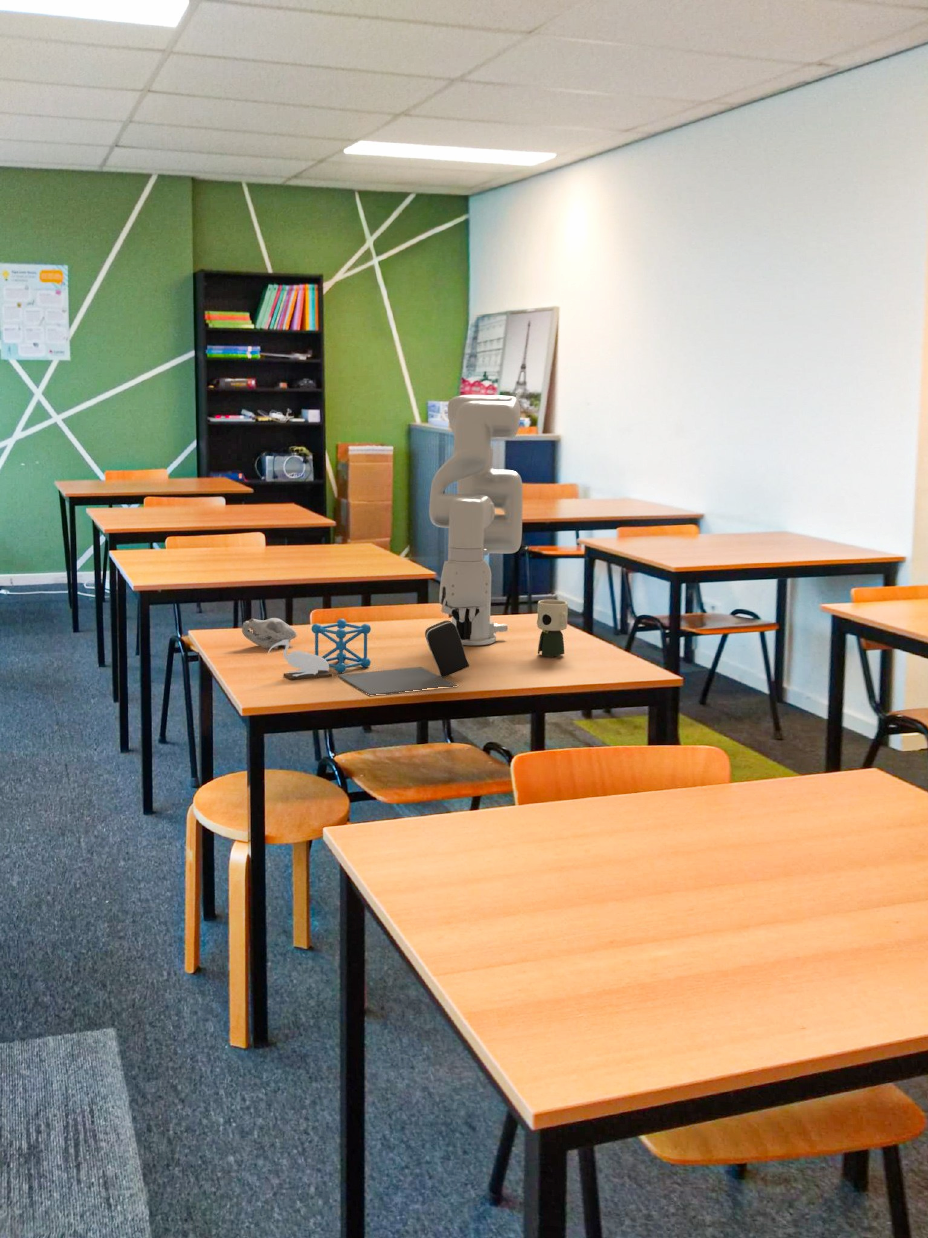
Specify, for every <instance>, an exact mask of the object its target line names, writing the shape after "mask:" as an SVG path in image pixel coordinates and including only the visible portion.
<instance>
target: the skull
mask: <svg viewBox="0 0 928 1238" xmlns="http://www.w3.org/2000/svg"><path fill="white" fill-rule="evenodd" d="M241 632H242V635H243V636H244V637H245V638H246V639H248V640H249V641H250V642H252V643H253V644H255V645H257V646H258V647H263V648H271V647H272V646H273V645H274V644H276V643H278V642H281V641H282V640H288V641H289V644H290V643H291V640H294V639H296V638H297V636H298V635H297V632H296V630H295V629H294V627H292V626H291V625H289V624H288V623H286V622H285V621H283V620H282V619H280V618H278V617H269V618H268V619H265V620H261V619H255V618H251V619H249V620H245V621H244V622H243V623H242V626H241ZM279 647H284V648H286V645H278V646H275V647H273V648H272V649H274V650H278V649H279Z"/></svg>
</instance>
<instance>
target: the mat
mask: <svg viewBox="0 0 928 1238" xmlns="http://www.w3.org/2000/svg"><path fill="white" fill-rule="evenodd" d="M337 678H339V679H341V680H342V681H344V682H346V683H347V682H348V683H347V684H349V685H350V686H352V685H353V687H354V688H356V689H357V688H358V689H357V690H359V691H361V692H362V691H363V692H362V693H364V694H366V693H367V694H369V695H376V694H386V695H392V694H391V693H396V694H400V693H399V692H405V691H413V690H422V689H427V688H438V687H453V686H457V687H458V684H456V683H454V682H451V681H450V680H448V679H446V678H445V677H441V676H440V675H438V674H436V673H435V672H433V671H430V670H429V669H427V668H424V667H422V666H416V667H414V666H413V667H407V668H406V667H404V668H395V669H385V670H384V669H383V670H373V671H364V672H362V671H361V672H354V673H351V672H350V673H340V674H337ZM453 688H454V687H453ZM405 693H406V692H405ZM367 694H366V695H367ZM369 695H368V696H369Z"/></svg>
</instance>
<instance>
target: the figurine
mask: <svg viewBox="0 0 928 1238" xmlns="http://www.w3.org/2000/svg"><path fill="white" fill-rule="evenodd" d="M278 645H280V646H281V645H286V647H284V650H283V655H282V656H283V657H284V659H285V660H286V662H287V664H289V665H290V666H291V667H292V668H295V669H298V670H288V671H287V672H284V673H283V677H284V678H286V679H287V680H289V681H293V682H294V681H304V680H313V679H315V680H316V679H324V678H325V679H326V678H333V677H334V673H332V672H330V671H329V670H330V667H329V664H330V663H329V661H328V662H327V661H326V660H325V659H326V658H325V659H324V658H322V656H320V655H318V656H317V655H315V653H314V654H313V653H310V652H307V651H302V650H293V651H291V652H290V653H288V654H287V652H288V650H289V648H290V643H289V641H288V640H282V641H281V642H278V643H276V644H274V645H273V646H272V647H269V649H268V652H267V655H269V654H270V652H271V650H272V649H274V648H273V647H275V646H278ZM278 647H279V646H278ZM328 663H329V664H328Z"/></svg>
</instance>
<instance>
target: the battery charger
mask: <svg viewBox="0 0 928 1238" xmlns="http://www.w3.org/2000/svg"><path fill="white" fill-rule="evenodd" d="M424 637H425V639H426V643H427V646H428V648H429V650H430V653H431V655H432V657H433V659H434V661H435V663H436V666H437V669H438V673H439V676H440V677H442V678H446V677H449V676H451V675H453V674H456V673H458V672H461V671H462V670H465V669H468V668H469V667H470V663H469V661H468V659H467V655H466V653H465V648H464V645H462V642H461V638H460V636H459V633H458V630H457V628H456V626H455V625H454V624H453V623H452V620H451V621H450V620H443V621H441V622H438V623H436V624H433V625H430V626H429V627H428V628H426V630H425V632H424Z"/></svg>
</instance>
